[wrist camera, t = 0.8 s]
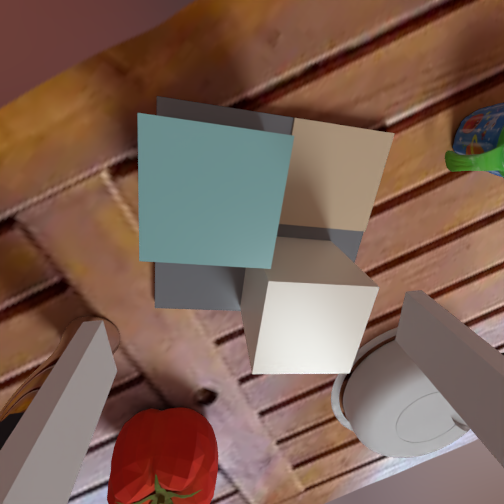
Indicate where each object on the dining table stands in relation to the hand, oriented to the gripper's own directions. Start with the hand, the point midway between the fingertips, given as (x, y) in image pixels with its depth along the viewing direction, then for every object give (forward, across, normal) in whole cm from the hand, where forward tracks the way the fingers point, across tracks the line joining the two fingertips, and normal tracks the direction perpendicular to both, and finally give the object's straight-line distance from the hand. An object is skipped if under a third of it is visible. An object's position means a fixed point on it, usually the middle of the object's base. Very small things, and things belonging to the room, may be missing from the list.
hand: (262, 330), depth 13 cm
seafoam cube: (+18, -2, +4) cm, 19 cm away
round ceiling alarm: (+20, +25, -29) cm, 43 cm away
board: (+19, +3, -2) cm, 20 cm away
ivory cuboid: (+18, +5, -8) cm, 20 cm away
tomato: (+19, -10, -30) cm, 37 cm away
